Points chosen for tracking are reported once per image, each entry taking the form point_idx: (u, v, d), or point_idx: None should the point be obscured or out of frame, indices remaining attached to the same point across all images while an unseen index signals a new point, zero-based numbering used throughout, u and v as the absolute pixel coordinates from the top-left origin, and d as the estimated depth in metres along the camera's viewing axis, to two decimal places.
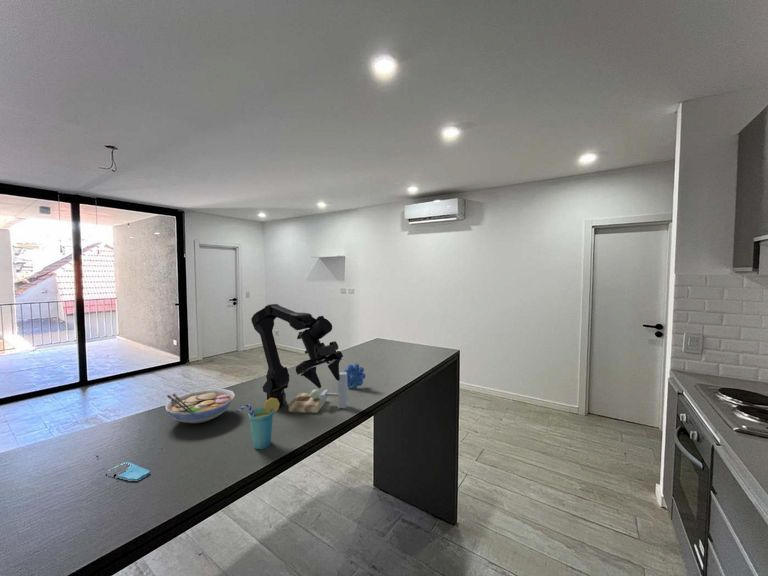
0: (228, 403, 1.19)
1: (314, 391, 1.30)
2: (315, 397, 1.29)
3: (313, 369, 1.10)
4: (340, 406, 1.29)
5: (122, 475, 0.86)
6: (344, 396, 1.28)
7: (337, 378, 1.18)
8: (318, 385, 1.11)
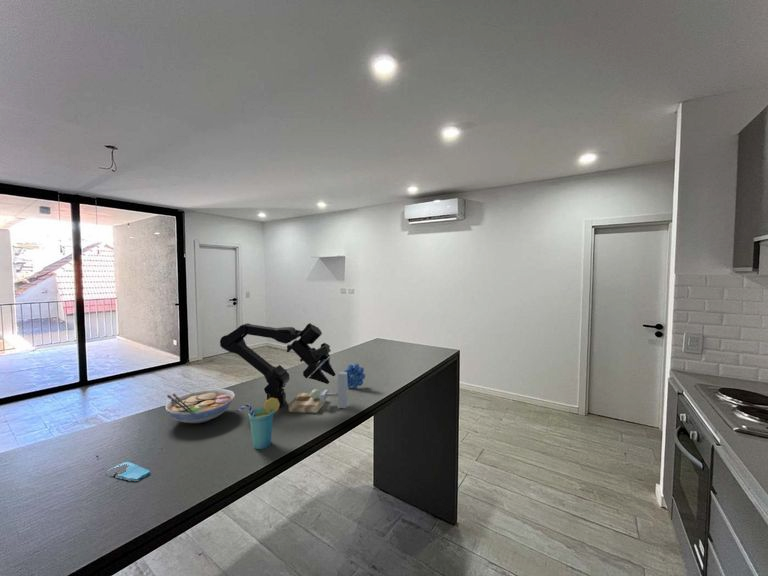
0: (228, 403, 1.19)
1: (314, 391, 1.30)
2: (315, 397, 1.29)
3: (320, 368, 1.24)
4: (340, 406, 1.29)
5: (122, 475, 0.86)
6: (344, 396, 1.28)
7: (333, 374, 1.34)
8: (326, 381, 1.25)
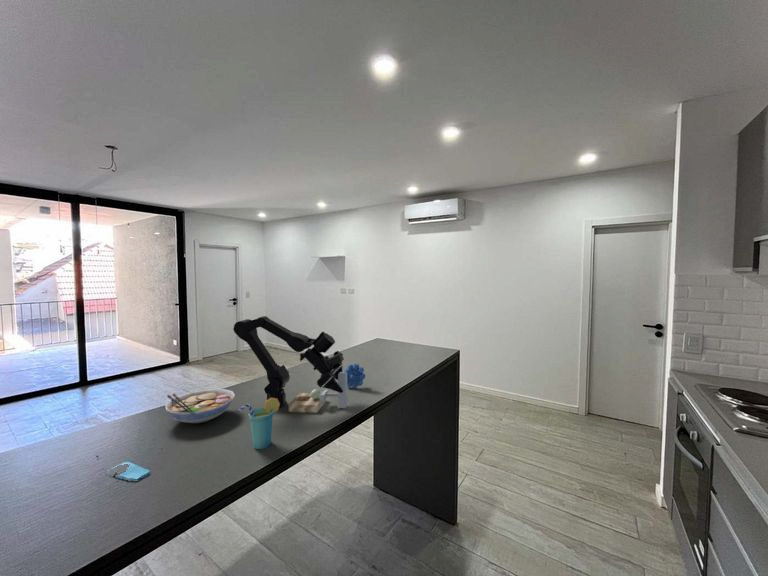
0: (228, 403, 1.19)
1: (314, 391, 1.30)
2: (315, 397, 1.29)
3: (334, 377, 1.23)
4: (340, 406, 1.29)
5: (122, 475, 0.86)
6: (344, 396, 1.28)
7: None
8: (340, 390, 1.25)
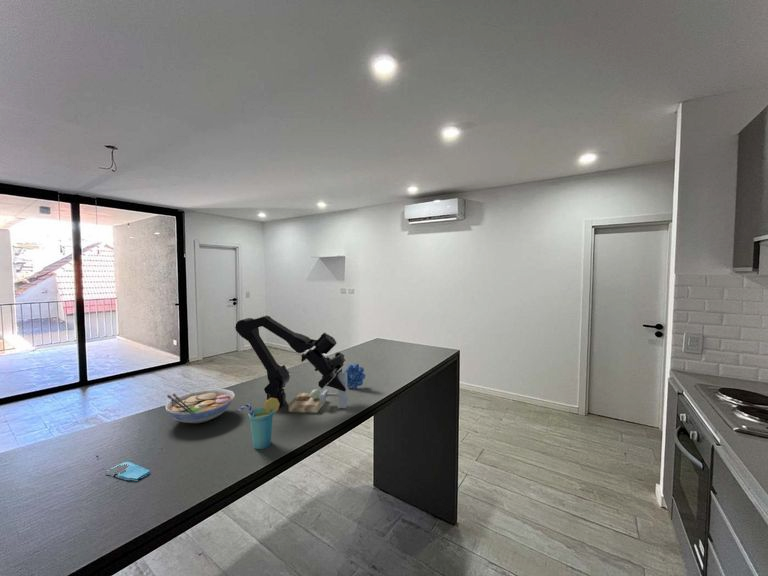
0: (228, 403, 1.19)
1: (314, 391, 1.30)
2: (315, 397, 1.29)
3: (337, 376, 1.26)
4: (340, 406, 1.29)
5: (122, 474, 0.86)
6: (344, 396, 1.28)
7: None
8: (343, 389, 1.27)
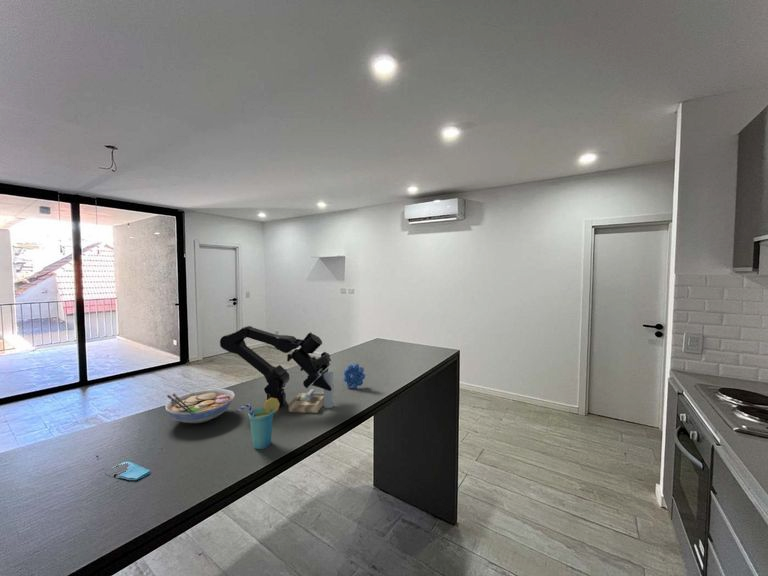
0: (228, 403, 1.19)
1: None
2: (302, 399, 1.30)
3: (322, 376, 1.27)
4: (326, 405, 1.29)
5: (122, 474, 0.87)
6: (330, 395, 1.29)
7: None
8: (329, 388, 1.28)
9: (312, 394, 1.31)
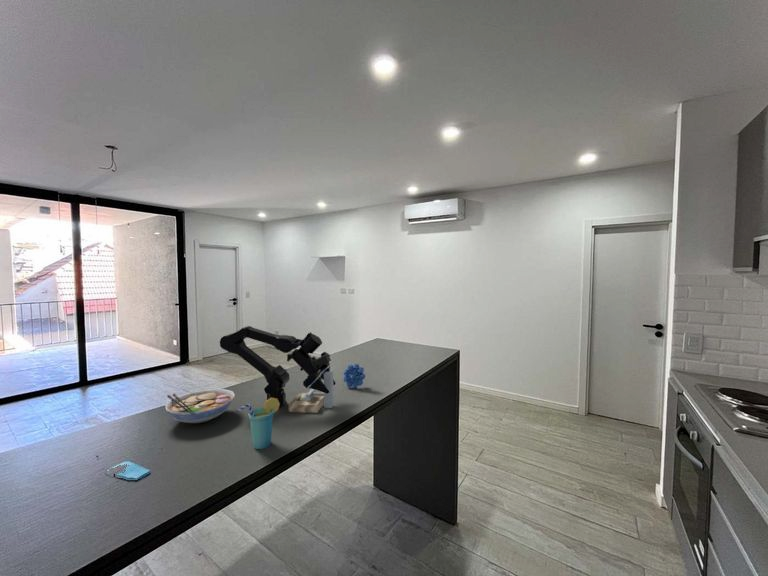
0: (228, 403, 1.19)
1: None
2: (302, 399, 1.30)
3: (320, 378, 1.24)
4: (326, 405, 1.29)
5: (122, 474, 0.87)
6: (330, 395, 1.29)
7: (333, 383, 1.35)
8: (326, 391, 1.25)
9: (312, 394, 1.31)
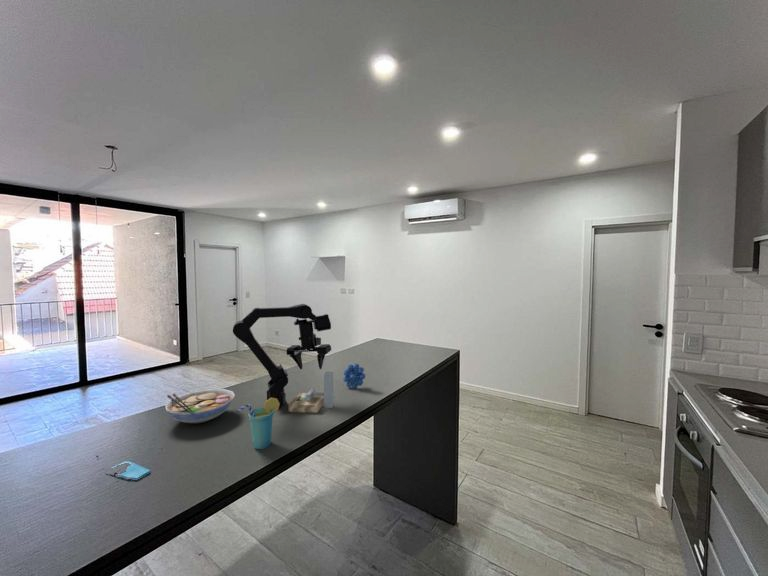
0: (228, 403, 1.19)
1: None
2: (302, 399, 1.30)
3: None
4: (326, 405, 1.29)
5: (122, 474, 0.87)
6: (330, 395, 1.29)
7: (301, 367, 1.40)
8: (321, 366, 1.37)
9: (312, 394, 1.31)
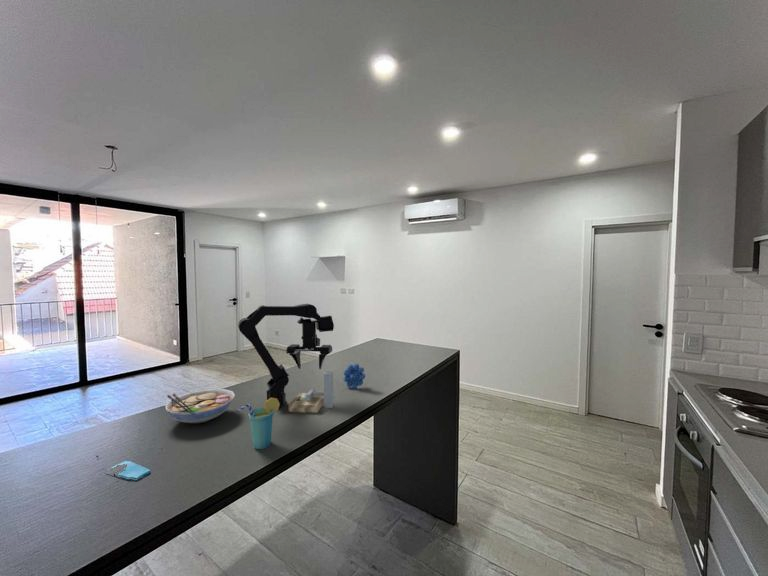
0: (228, 403, 1.19)
1: None
2: (302, 399, 1.30)
3: None
4: (326, 405, 1.29)
5: (122, 474, 0.87)
6: (330, 395, 1.29)
7: (300, 366, 1.40)
8: (321, 366, 1.39)
9: (312, 394, 1.31)
